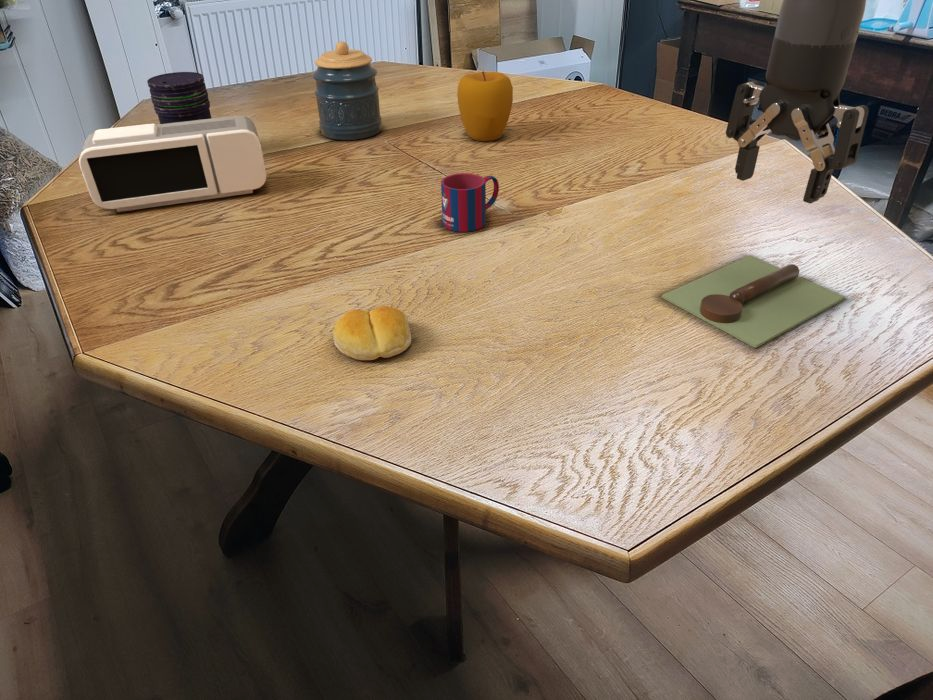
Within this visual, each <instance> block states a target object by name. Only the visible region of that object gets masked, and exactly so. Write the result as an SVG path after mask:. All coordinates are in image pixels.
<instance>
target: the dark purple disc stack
mask: <svg viewBox="0 0 933 700" xmlns="http://www.w3.org/2000/svg"><path fill="white" fill-rule="evenodd" d="M146 83H147V86H148V88H149V93H150V99H151V103H152V104H153V110H154V113H155V114H156V115H157V117H158V121H159V124H167V123H176V122H185V121H194V120H203V119H212V113H211V110H210V107H211V102H210V100H209V93H208V90H207V87H206V83H205V77H204V75H203V74H202V73H200V72H195V71H175V72H168V73H162V74H158V75H154V76H152V77H150V78H148V79H147V81H146Z"/></svg>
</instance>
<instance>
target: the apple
mask: <svg viewBox="0 0 933 700" xmlns="http://www.w3.org/2000/svg"><path fill="white" fill-rule="evenodd" d="M456 95H457V96H456V97H457V105H458V111H459V115H460V119H461V123H462V124H463V128H464V131H465V132H466V133H467V135H468V137H469V138H471V139H473V140H474V141H477V142H492V141H496V140H498V139H500V138H501V137H502V136H503V134H504V132H505V129H506V127H507V126H508V125H507V124H508V122H509V119H510V115H511V112H512V107H513V99H514V87H513V83H512V81H511V79H510V77H509V76H507V75H505V74H504V73H503V72H501V71H484V70H483V71H479V72H473V73H467V74H464V75H463V76H461V78H460V79H459V82H458V85H457V94H456Z"/></svg>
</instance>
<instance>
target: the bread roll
mask: <svg viewBox="0 0 933 700" xmlns="http://www.w3.org/2000/svg"><path fill="white" fill-rule="evenodd" d="M332 337H333V341H334V342H333V343H334V345H335V347H336V348H337V349H338V350H339V352H341V353H342V354H343V355H345V356H347V357H349V358H352V359H354V360H358V361H373V360H376V359H379V358H380V357H381V358H384V359H385V358H387V359H388V358H392V357H394V356H397V355H399V354H401V353H403V352H404V351H406V350H407V349H408V348H409V347H410V345H411V344H412V334H411V329H410V325H409V317H408V315H407V314H406V313H404V311H402V310H401V309H399V308H396V307H393V306H389V305H380V306H377V307H376V308H374V309H372V310H370V311H368V310H363V309H352V310H349V311H347V312H346V313H344V314H343V315H341V317H340V318H339V319H338V320H337V322H336V323H335V325H334V327H333V332H332Z"/></svg>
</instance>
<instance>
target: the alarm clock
mask: <svg viewBox="0 0 933 700" xmlns="http://www.w3.org/2000/svg"><path fill="white" fill-rule="evenodd" d="M211 118H212V117H211ZM78 165H79V169H80V171H81V174H82V177H83V179H84V182H85V185H86V188H87V191H88V193H89V197H90V199H91V200H92V202H93V203H94V204H95V205H96V206H97V207H99V208H101V209H104V210H116V213H120V212H127V211H134V210H142V209H148V208H156V207H162V206H169V205H177V204H185V203H191V202H199V201H205V200H206V201H207V200H213V199H220V198H227V197H234V196H235V197H236V196H241V195H248V194H253V193H254V190H257V189H260V188H261V187H262V186H264V185H265V183H266V180H267V170H266V166H265V165H266V164H265V161H264V154H263V150H262V145H261V140H260V137H259V134H258V130H257V127H256V124H255V122H254V121H253V120H252V118H250V117H248V116H246V115H231V116H221V117H213V118H212V119H203V120H194V121H185V122H176V123H167V124H160V123H159V124H156V123H153V122H152V123H147V124H146V123H145V124H144V123H143V124H137V125H136V124H135V125H127V126H126V125H125V126H119V127H110V128H101V129H95V131H94V132H91V133H90V134H89V135H87V136H86V139H85V141H84V143H83V147H82V149H81V152H80V155H79V158H78Z"/></svg>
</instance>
